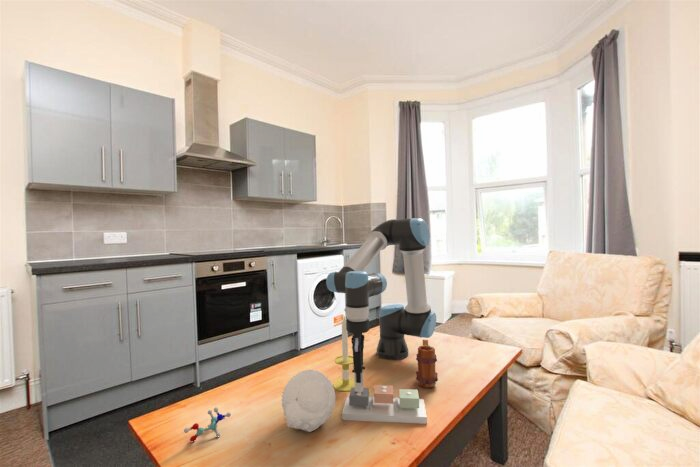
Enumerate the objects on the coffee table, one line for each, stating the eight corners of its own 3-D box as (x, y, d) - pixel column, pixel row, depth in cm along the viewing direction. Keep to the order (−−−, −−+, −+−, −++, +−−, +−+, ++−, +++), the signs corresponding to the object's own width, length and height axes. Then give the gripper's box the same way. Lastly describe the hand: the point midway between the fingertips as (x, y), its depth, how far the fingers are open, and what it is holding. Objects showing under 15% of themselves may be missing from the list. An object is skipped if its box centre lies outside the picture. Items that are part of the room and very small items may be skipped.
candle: (346, 377, 134) (344, 310, 134) (364, 385, 127) (362, 314, 127) (327, 385, 127) (325, 315, 127) (345, 394, 120) (343, 320, 120)
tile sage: (399, 398, 110) (399, 388, 110) (417, 398, 109) (417, 389, 109) (399, 407, 104) (399, 397, 104) (419, 408, 103) (419, 398, 103)
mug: (438, 391, 120) (437, 350, 120) (416, 390, 122) (415, 349, 122) (436, 374, 135) (435, 337, 135) (416, 373, 136) (415, 337, 136)
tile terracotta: (375, 393, 111) (374, 384, 111) (393, 394, 110) (393, 385, 110) (374, 403, 105) (374, 393, 105) (393, 403, 104) (393, 393, 104)
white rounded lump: (326, 403, 114) (325, 357, 114) (354, 428, 99) (353, 374, 99) (270, 422, 103) (268, 371, 103) (292, 453, 88) (290, 393, 88)
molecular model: (197, 412, 103) (208, 390, 100) (224, 425, 104) (236, 404, 101) (175, 446, 92) (187, 422, 89) (206, 460, 93) (219, 437, 90)
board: (346, 402, 114) (346, 392, 114) (423, 405, 111) (423, 395, 111) (342, 419, 103) (342, 409, 103) (427, 423, 100) (426, 413, 100)
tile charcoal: (351, 396, 112) (351, 386, 112) (369, 396, 111) (369, 387, 111) (349, 405, 106) (349, 395, 106) (368, 406, 105) (367, 396, 105)
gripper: (348, 313, 115) (350, 381, 115) (343, 324, 102) (345, 400, 102) (370, 314, 114) (371, 382, 114) (367, 324, 101) (369, 401, 101)
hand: (359, 390), depth 108 cm, fingers closed
